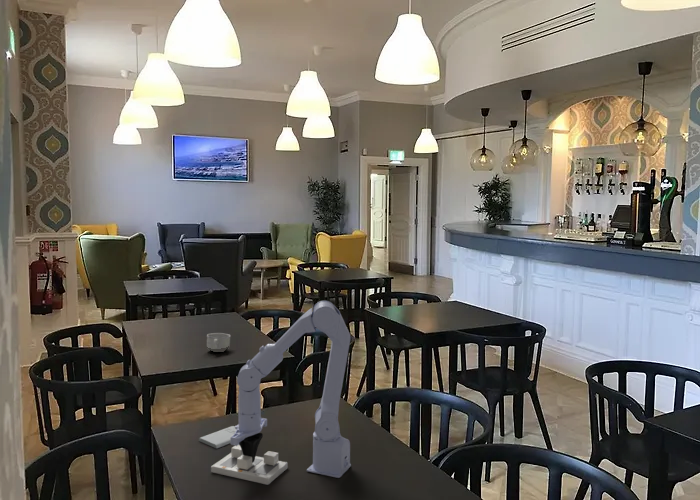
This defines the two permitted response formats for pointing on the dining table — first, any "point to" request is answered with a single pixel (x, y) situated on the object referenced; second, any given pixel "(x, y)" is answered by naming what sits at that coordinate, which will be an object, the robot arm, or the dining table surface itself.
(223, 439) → the external hard drive
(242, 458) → the switch tab mid
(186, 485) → the dining table surface
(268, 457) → the switch tab near
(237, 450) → the switch tab far
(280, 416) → the dining table surface
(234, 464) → the panel
